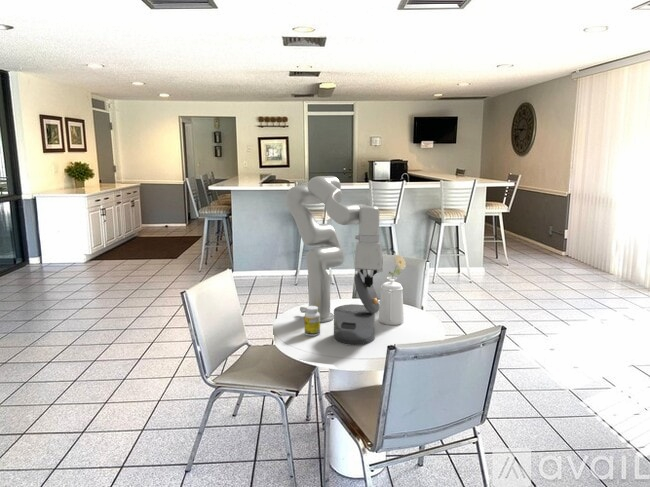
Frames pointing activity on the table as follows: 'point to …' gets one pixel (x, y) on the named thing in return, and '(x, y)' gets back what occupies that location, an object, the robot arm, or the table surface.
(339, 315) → the cooker pot
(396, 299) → the coffeepot
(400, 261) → the flower in vase
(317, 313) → the pill bottle
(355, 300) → the table surface
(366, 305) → the cooker lid
